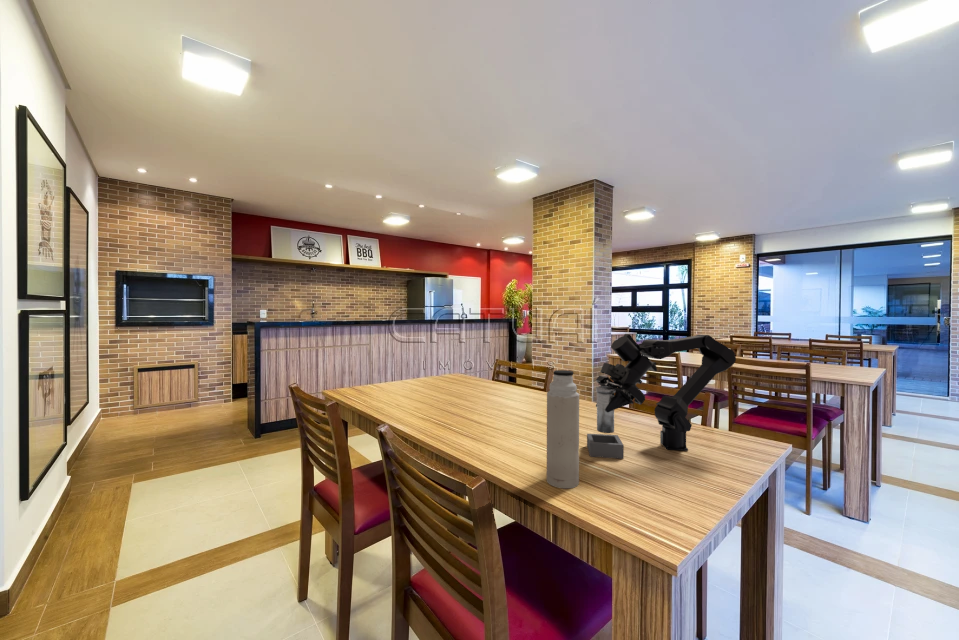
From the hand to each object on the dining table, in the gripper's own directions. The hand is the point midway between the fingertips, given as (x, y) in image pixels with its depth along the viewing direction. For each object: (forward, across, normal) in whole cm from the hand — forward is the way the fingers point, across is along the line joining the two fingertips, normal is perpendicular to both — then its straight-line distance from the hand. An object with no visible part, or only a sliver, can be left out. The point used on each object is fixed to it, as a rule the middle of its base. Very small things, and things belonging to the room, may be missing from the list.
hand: (601, 409), depth 116 cm
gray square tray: (+8, -1, +10) cm, 14 cm away
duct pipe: (+4, 0, +6) cm, 7 cm away
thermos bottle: (+24, +16, -5) cm, 29 cm away
